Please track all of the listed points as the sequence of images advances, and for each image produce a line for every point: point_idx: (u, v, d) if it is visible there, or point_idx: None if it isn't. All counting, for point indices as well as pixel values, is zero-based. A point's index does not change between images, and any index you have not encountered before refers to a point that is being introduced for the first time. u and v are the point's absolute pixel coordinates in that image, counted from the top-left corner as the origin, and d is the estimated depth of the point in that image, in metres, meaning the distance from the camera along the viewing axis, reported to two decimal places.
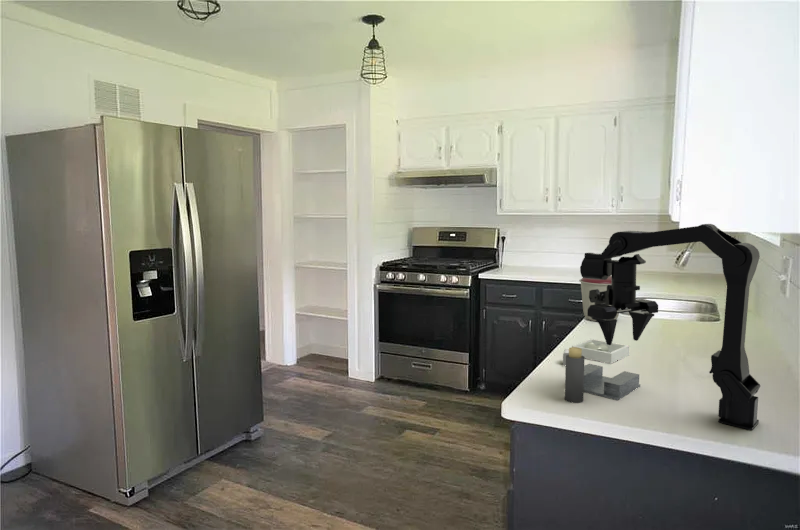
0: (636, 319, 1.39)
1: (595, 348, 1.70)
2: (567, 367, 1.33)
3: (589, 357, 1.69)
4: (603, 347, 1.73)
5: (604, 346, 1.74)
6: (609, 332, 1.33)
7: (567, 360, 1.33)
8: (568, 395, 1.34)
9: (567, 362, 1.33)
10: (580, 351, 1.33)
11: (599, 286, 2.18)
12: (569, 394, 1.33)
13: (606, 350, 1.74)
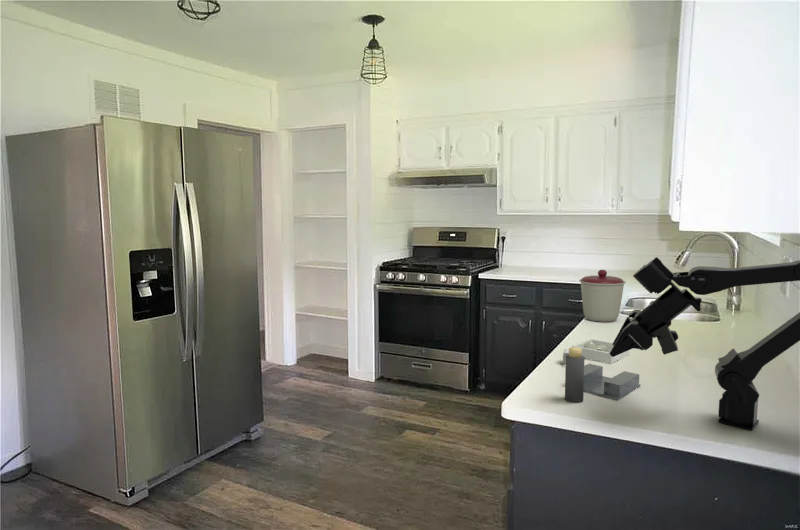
0: None
1: (594, 348, 1.71)
2: (567, 367, 1.33)
3: (589, 357, 1.69)
4: (602, 347, 1.73)
5: (603, 346, 1.74)
6: None
7: (567, 360, 1.33)
8: (568, 395, 1.34)
9: (567, 362, 1.33)
10: (580, 351, 1.33)
11: (599, 286, 2.18)
12: (569, 394, 1.33)
13: (605, 350, 1.74)
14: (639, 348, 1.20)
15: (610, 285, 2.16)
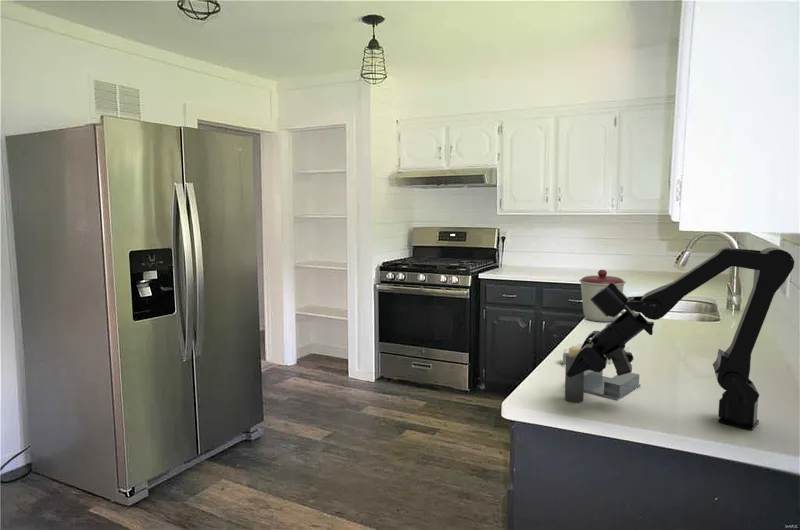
0: None
1: None
2: (567, 367, 1.33)
3: None
4: None
5: None
6: None
7: (567, 360, 1.33)
8: (568, 395, 1.34)
9: (567, 362, 1.33)
10: None
11: (599, 286, 2.18)
12: (569, 394, 1.33)
13: None
14: (593, 370, 1.25)
15: None
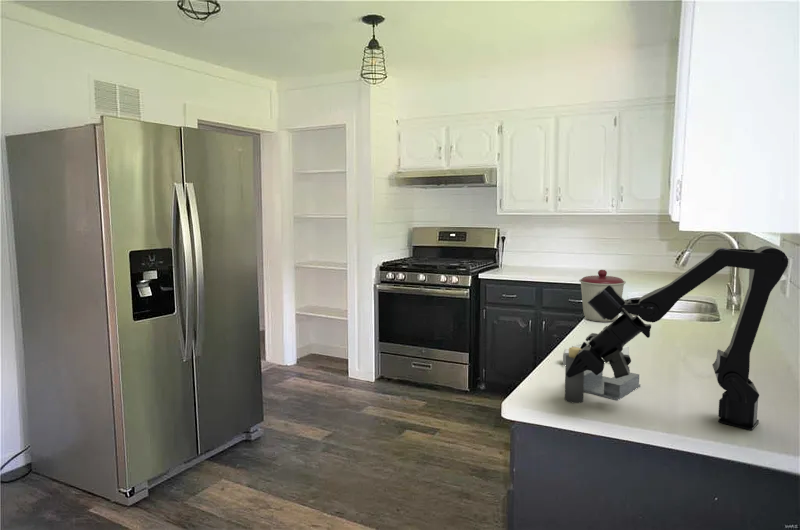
0: None
1: None
2: (567, 367, 1.33)
3: None
4: None
5: None
6: None
7: (567, 360, 1.33)
8: (568, 395, 1.34)
9: (567, 362, 1.33)
10: None
11: (599, 286, 2.18)
12: (569, 394, 1.33)
13: None
14: None
15: None
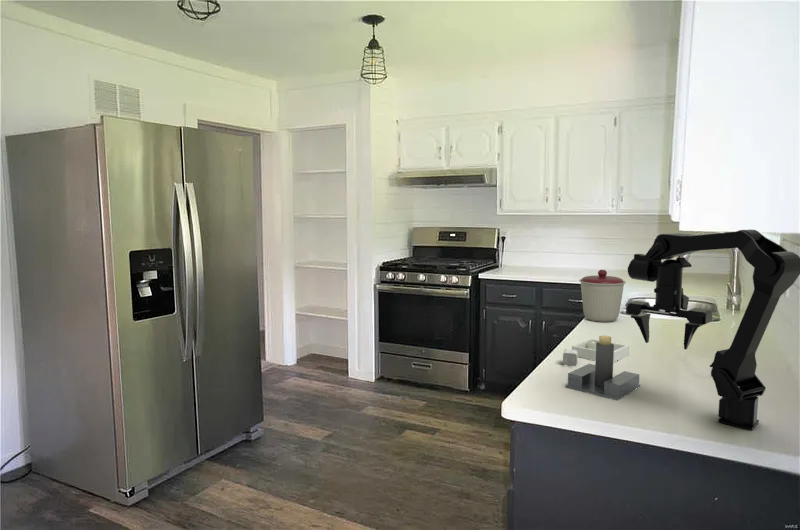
0: None
1: None
2: (596, 353, 1.43)
3: (589, 357, 1.69)
4: None
5: None
6: None
7: (596, 346, 1.43)
8: (596, 379, 1.43)
9: (596, 348, 1.43)
10: (608, 339, 1.41)
11: (599, 286, 2.18)
12: (596, 378, 1.43)
13: None
14: None
15: (610, 285, 2.16)
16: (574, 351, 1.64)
